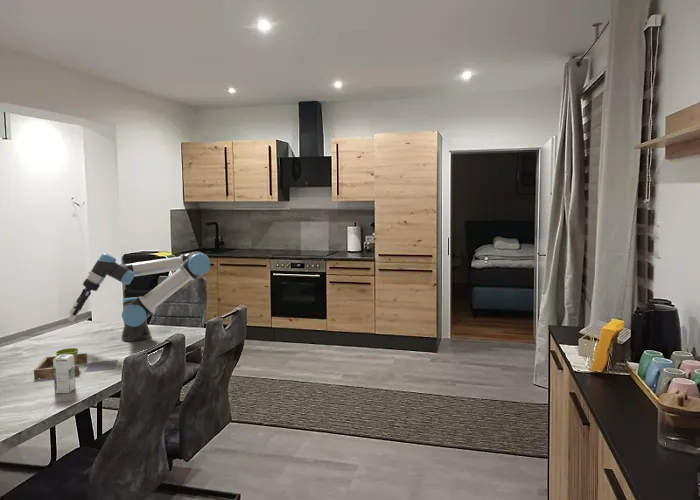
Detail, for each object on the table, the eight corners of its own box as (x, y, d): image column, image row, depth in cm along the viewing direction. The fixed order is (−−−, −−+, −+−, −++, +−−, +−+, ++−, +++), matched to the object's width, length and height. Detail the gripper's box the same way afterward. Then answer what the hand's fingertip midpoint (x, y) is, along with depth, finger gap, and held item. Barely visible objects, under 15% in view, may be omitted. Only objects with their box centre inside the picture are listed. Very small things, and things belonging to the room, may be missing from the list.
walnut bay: (87, 361, 250) (86, 353, 250) (79, 374, 231) (78, 365, 231) (46, 365, 245) (45, 357, 245) (34, 379, 226) (33, 370, 225)
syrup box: (61, 389, 213) (58, 354, 212) (76, 388, 214) (73, 353, 212) (54, 394, 208) (52, 358, 206) (70, 393, 208) (67, 358, 207)
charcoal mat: (117, 360, 251) (117, 359, 251) (113, 368, 238) (113, 368, 238) (90, 362, 248) (90, 362, 248) (84, 371, 234) (84, 371, 234)
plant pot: (56, 374, 232) (54, 355, 232) (57, 368, 241) (55, 349, 240) (79, 370, 237) (78, 351, 236) (79, 364, 245) (78, 346, 244)
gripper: (87, 273, 279) (65, 308, 276) (85, 282, 257) (61, 320, 254) (100, 280, 282) (78, 314, 280) (100, 289, 260) (76, 326, 257)
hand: (70, 317), depth 267 cm, fingers open, 13 cm apart
